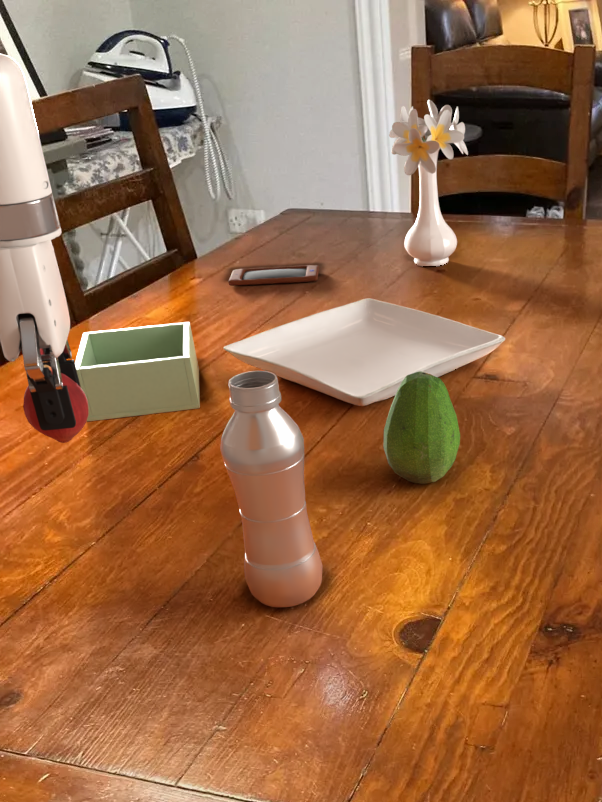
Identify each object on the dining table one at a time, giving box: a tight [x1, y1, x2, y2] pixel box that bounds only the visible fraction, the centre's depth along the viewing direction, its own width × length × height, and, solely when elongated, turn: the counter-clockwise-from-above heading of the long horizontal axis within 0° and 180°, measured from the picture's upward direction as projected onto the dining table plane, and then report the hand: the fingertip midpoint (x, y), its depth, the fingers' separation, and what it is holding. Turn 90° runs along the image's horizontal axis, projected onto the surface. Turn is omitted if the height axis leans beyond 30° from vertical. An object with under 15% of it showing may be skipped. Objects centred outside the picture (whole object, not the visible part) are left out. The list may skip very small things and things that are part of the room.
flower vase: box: [388, 99, 469, 267], centre depth 158 cm, size 13×18×25 cm
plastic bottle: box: [219, 370, 323, 608], centre depth 76 cm, size 6×7×20 cm
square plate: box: [223, 298, 506, 407], centre depth 125 cm, size 27×27×4 cm
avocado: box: [383, 371, 461, 485], centre depth 96 cm, size 8×8×12 cm
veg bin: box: [74, 321, 201, 423], centre depth 119 cm, size 14×14×7 cm
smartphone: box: [228, 264, 320, 286], centre depth 160 cm, size 7×1×15 cm
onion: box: [23, 365, 88, 444], centre depth 90 cm, size 6×6×8 cm
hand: (62, 412), depth 91 cm, fingers closed on onion, 5 cm apart
